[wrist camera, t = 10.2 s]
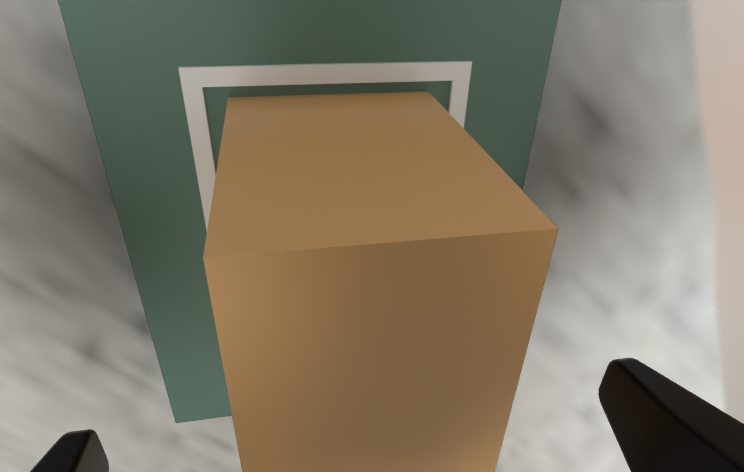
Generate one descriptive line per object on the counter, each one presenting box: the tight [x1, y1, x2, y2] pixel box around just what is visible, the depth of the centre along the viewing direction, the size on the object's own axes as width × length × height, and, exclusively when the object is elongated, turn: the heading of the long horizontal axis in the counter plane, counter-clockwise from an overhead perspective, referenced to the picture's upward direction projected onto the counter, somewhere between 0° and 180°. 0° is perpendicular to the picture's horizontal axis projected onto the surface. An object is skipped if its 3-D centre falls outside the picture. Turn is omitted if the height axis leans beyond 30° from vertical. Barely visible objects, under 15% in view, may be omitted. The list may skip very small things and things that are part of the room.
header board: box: [58, 0, 561, 423], centre depth 12 cm, size 12×10×4 cm
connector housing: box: [203, 91, 558, 472], centre depth 11 cm, size 8×4×6 cm, turn 179°
